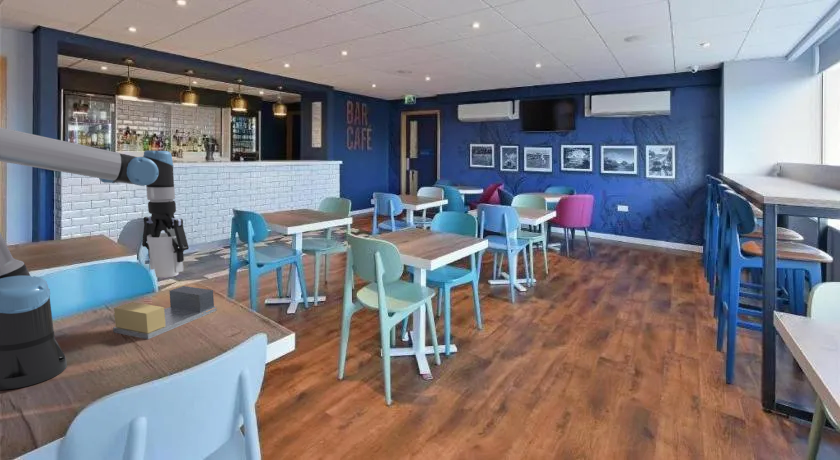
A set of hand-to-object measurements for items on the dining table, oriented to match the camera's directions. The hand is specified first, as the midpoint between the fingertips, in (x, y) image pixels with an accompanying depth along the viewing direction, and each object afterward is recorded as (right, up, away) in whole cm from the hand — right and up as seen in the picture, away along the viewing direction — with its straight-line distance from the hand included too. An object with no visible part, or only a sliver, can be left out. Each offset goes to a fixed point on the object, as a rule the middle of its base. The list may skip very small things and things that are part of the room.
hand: (166, 270), depth 142 cm
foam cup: (0, -2, 0) cm, 2 cm away
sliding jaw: (-4, -16, -7) cm, 18 cm away
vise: (-1, -17, +2) cm, 17 cm away
